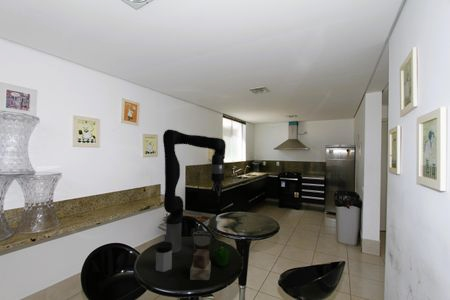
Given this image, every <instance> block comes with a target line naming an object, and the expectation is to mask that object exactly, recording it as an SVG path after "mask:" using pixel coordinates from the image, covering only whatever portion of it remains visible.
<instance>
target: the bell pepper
mask: <svg viewBox="0 0 450 300" xmlns="http://www.w3.org/2000/svg"><path fill="white" fill-rule="evenodd" d="M230 255H231V251H230V249H228V248H227V247H225V246H224V247H223V246H221V247H216V248H215V250H214V260H215V264H217V265H218V266H220V267H226V266H227V264H228V263H229V261H230V257H231V256H230Z"/></svg>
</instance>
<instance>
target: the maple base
mask: <svg viewBox="0 0 450 300" xmlns="http://www.w3.org/2000/svg"><path fill="white" fill-rule="evenodd" d="M211 264H212V263H211V260H209V264H208V265H207V266H206V268H205V269H201V268H196V267H193V262H192V263H191V266H190V270H189V280H192V281H193V280H194V281H195V280H196V281H209V280H210V275H211V270H212V269H211V267H212V265H211Z"/></svg>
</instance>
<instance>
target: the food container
mask: <svg viewBox="0 0 450 300" xmlns="http://www.w3.org/2000/svg"><path fill="white" fill-rule="evenodd" d="M192 237H193V248H194V250H196V251H198V250H204V251H210V247H211V238H212V232H210V231H209V230H197V231H194V232H193V233H192Z"/></svg>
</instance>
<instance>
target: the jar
mask: <svg viewBox="0 0 450 300" xmlns="http://www.w3.org/2000/svg"><path fill="white" fill-rule="evenodd" d="M172 260H173V253H172V243H170V242H165V241H162V242H158V243H157V244H156V248H155V271H157V272H161V273H164V272H167V271H170V270H172V266H173V265H172V264H173V262H172Z"/></svg>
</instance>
